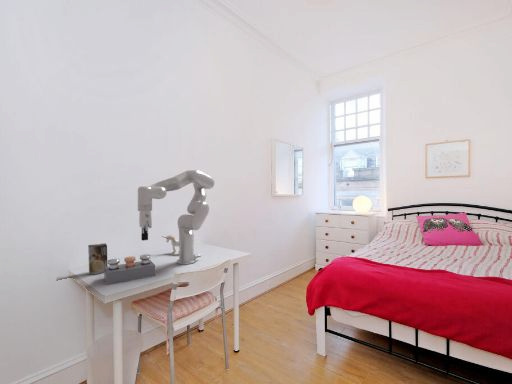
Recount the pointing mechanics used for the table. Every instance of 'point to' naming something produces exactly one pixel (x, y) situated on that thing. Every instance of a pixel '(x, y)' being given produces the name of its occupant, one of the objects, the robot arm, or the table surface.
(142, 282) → the table surface
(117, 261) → the steel plunger
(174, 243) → the unicorn figurine
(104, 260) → the coffee box
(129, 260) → the peach ball
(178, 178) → the robot arm
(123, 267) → the box
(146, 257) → the steel plunger
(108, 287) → the table surface
